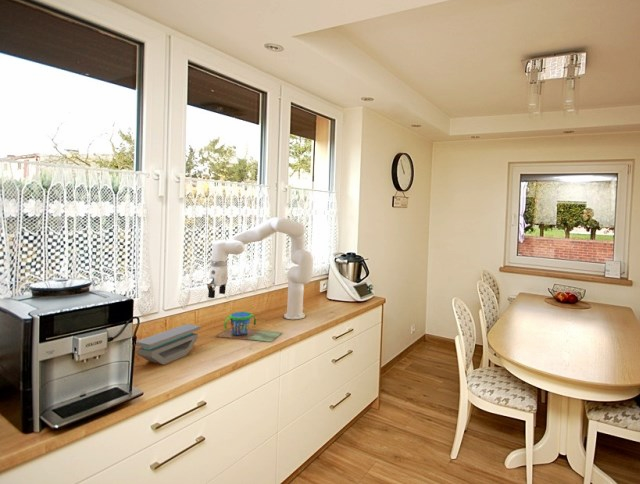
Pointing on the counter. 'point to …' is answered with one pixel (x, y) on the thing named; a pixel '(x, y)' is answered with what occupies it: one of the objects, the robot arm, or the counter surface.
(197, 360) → the counter surface
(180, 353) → the sharpening stone
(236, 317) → the snack cup
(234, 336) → the placemat
